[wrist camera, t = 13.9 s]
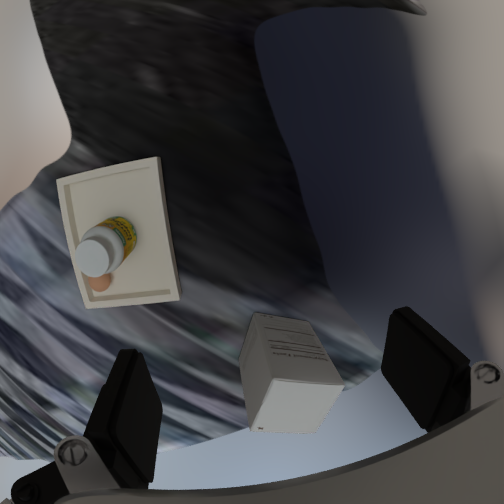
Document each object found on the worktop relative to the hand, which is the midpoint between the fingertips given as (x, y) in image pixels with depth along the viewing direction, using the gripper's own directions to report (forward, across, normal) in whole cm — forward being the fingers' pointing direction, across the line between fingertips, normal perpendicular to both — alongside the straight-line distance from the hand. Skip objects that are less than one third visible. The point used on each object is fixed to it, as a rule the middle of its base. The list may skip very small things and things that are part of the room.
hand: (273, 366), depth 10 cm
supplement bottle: (+28, +15, 0) cm, 31 cm away
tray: (+28, +15, 0) cm, 32 cm away
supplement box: (+29, -4, +19) cm, 35 cm away
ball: (+28, +18, +5) cm, 34 cm away
